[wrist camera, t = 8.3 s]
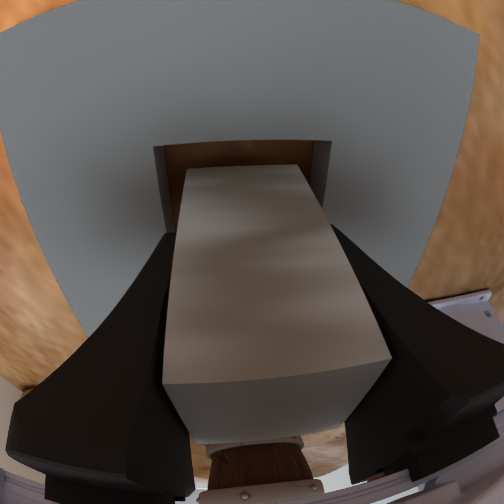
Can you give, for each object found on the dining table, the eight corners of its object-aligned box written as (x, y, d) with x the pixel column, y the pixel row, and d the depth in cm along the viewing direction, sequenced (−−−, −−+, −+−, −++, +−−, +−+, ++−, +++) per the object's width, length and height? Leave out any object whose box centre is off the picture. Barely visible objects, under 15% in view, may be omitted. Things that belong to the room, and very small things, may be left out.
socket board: (449, 29, 8) (479, 34, 7) (377, 303, 19) (388, 326, 18) (15, 34, 7) (-14, 40, 5) (101, 322, 18) (95, 348, 16)
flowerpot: (312, 402, 29) (346, 572, 14) (307, 436, 39) (330, 554, 24) (177, 419, 29) (187, 586, 14) (211, 449, 39) (222, 566, 24)
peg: (297, 164, 11) (392, 358, 5) (288, 249, 14) (339, 427, 8) (186, 168, 11) (162, 383, 5) (196, 254, 13) (196, 444, 7)
